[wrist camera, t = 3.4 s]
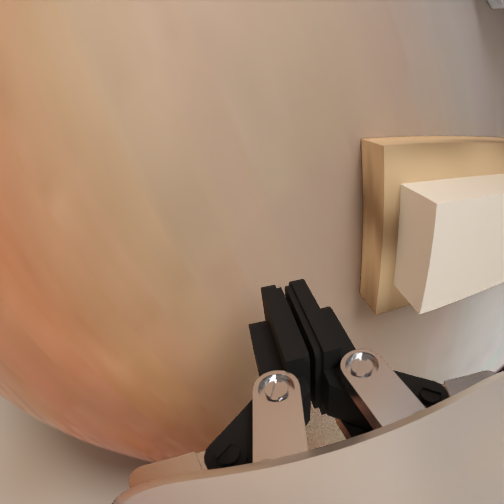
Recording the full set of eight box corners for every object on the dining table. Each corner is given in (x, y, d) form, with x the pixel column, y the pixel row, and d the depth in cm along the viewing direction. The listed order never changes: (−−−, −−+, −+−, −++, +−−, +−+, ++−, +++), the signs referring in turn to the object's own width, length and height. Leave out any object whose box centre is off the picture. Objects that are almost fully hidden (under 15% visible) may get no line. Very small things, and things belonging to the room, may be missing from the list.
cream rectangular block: (400, 184, 14) (437, 203, 12) (511, 173, 15) (543, 187, 12) (393, 284, 17) (419, 314, 14) (498, 252, 18) (525, 272, 15)
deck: (361, 139, 15) (383, 146, 13) (533, 140, 17) (553, 147, 14) (360, 293, 20) (375, 314, 18) (518, 245, 21) (535, 257, 19)
